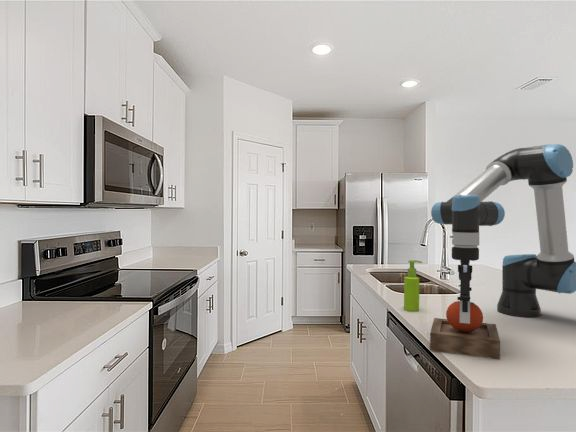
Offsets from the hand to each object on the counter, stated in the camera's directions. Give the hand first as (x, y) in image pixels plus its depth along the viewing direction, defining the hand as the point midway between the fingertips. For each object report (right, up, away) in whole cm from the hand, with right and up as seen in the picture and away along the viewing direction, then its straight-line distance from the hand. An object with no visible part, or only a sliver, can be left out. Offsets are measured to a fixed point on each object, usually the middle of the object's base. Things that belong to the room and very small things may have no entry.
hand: (464, 317), depth 123 cm
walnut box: (0, -8, 0) cm, 8 cm away
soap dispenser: (-2, -8, +43) cm, 44 cm away
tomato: (0, -4, 0) cm, 5 cm away
